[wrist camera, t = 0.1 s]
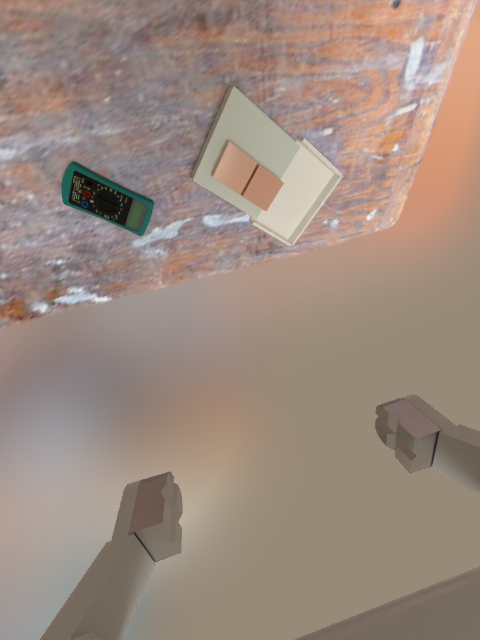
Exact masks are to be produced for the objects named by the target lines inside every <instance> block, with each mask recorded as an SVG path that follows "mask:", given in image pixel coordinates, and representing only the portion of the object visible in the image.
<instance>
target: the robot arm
mask: <svg viewBox="0 0 480 640" xmlns="http://www.w3.org/2000/svg"><path fill="white" fill-rule="evenodd" d="M376 414H377V415H378V416H379V417H378V418H377V419H376V421H375V428H376V431H377V434H378V436H379V437H380V439H381V440H382V442H383V443H384V444H385V445H386V446H387V447H390V448H391V449H394V450H395V457H396V458H397V459H398V460H399V461H400V463H401V464H402V465H403V466H404V467H405V468H406V470H407V471H408V472H409V473H412V472H415V471H419V470H422V469H425V468H429V467H432V468H433V469H435V470H436V471H438V472H440V473H441V474H443V475H445V476H447V477H449V478H450V479H452V480H454V481H455V482H457V483H459V484H461V485H462V486H464V487H466V488H468V489H470V490H471V491H473V492H475V493H476V494H478V495H480V431H477V430H474V429H471V428H468V427H466V426H463V425H457V426H456V425H455V424H453V423H452V422H451V421H450V420H448V419H447V418H446V417H444V416H443V415H442V414H440V413H439V412H438V411H437V410H435V409H434V408H433V407H431V406H430V405H429V404H428V403H426V402H425V401H424V400H422V399H421V398H420V397H419V396H417V395H410V396H406V397H403V398H401V399H400V398H399V399H396V400H393V401H390V402H387V403H384V404H381V405H378V406H377V407H376ZM173 482H174V476H173V475H172V473H171V472H167V473H164V474H161V475H157V476H153V477H150V478H147V479H143V480H139V481H136V482H133V483H130V484H127V486H126V487H125V489H124V492H123V496H122V500H121V504H120V508H119V512H118V516H117V520H116V524H115V528H114V532H113V536H112V540H111V541H109V542H107V543H106V544H105V546H104V547H103V549H102V550H101V552H100V553H99V554H98V556H97V557H96V559H95V560H94V562H93V563H92V565H91V566H90V567H89V569H88V570H87V572H86V573H85V575H84V577H83V578H82V579H81V581H80V582H79V583H78V585H77V586H76V588H75V589H74V591H73V592H72V594H71V595H70V597H69V598H68V600H67V601H66V602H65V604H64V605H63V607H62V608H61V610H60V611H59V613H58V614H57V615H56V617H55V619H54V620H53V621H52V623H51V624H50V626H49V627H48V629H47V630H46V632H45V633H44V634H43V636H42V637H41V639H40V640H123V637H124V635H125V633H126V630H127V628H128V626H129V624H130V622H131V619H132V617H133V615H134V613H135V610H136V608H137V606H138V603H139V601H140V599H141V597H142V594H143V592H144V590H145V587H146V585H147V583H148V581H149V579H150V576H151V574H152V572H153V569H154V567H155V565H156V564H155V562H158V561H160V560H163V559H165V558H168V557H170V556H173V555H176V554H179V553H181V537H182V536H181V535H182V528H181V526H180V524H179V522H178V521H179V519H180V517H181V515H182V496H181V492H180V489H179V486H178V485H177V484H175V483H173ZM295 640H480V566H479V567H477V568H475V569H472V570H469V571H467V572H464V573H462V574H459V575H457V576H454V577H451V578H449V579H446V580H444V581H441V582H439V583H436V584H434V585H431V586H429V587H426V588H424V589H421V590H419V591H416V592H414V593H411V594H409V595H406V596H403V597H401V598H399V599H396V600H393V601H391V602H388V603H386V604H383V605H381V606H378V607H376V608H373V609H371V610H368V611H365V612H363V613H361V614H358V615H355V616H353V617H350V618H348V619H345V620H343V621H340V622H338V623H335V624H333V625H330V626H328V627H325V628H322V629H320V630H317V631H315V632H312V633H310V634H307V635H305V636H302V637H300V638H297V639H295Z"/></svg>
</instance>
